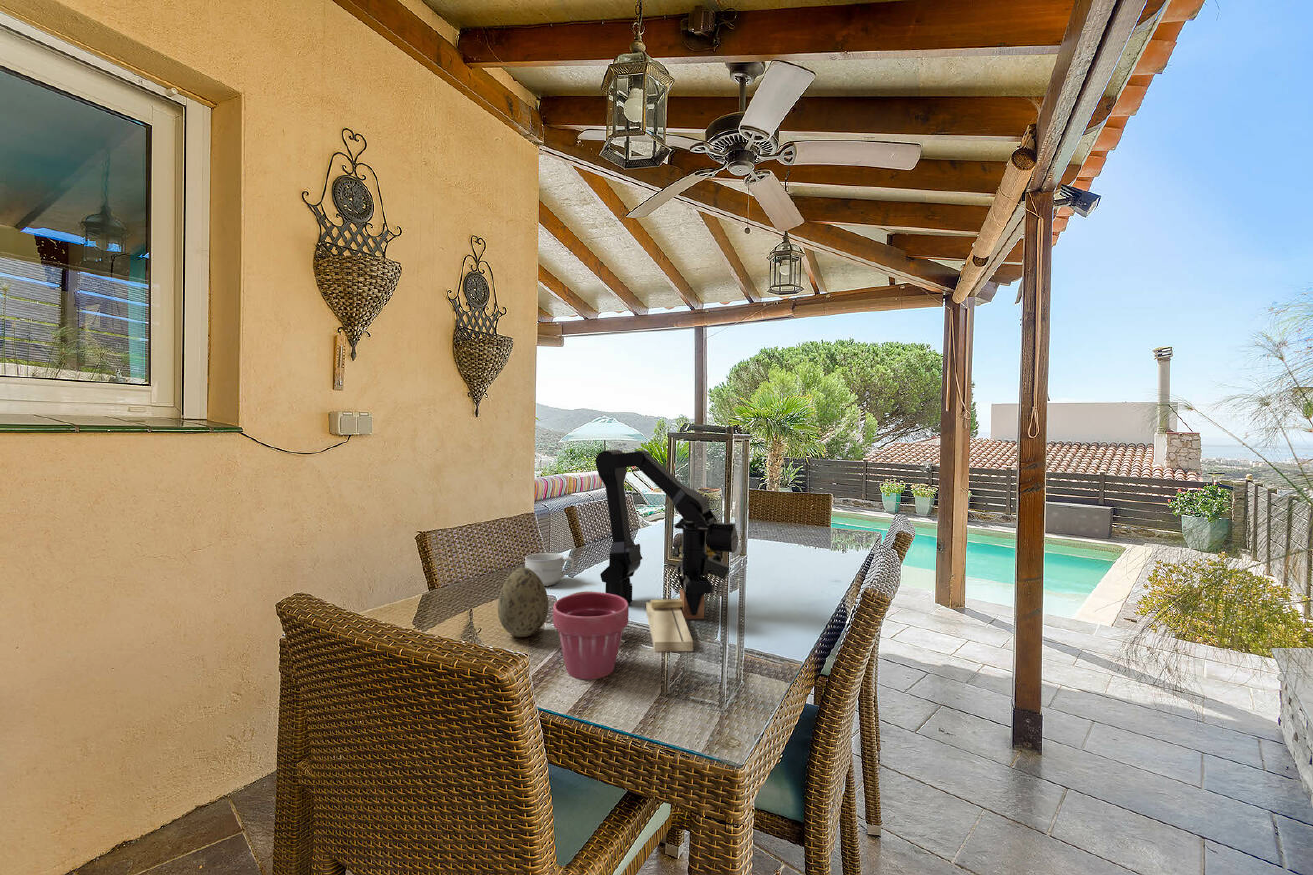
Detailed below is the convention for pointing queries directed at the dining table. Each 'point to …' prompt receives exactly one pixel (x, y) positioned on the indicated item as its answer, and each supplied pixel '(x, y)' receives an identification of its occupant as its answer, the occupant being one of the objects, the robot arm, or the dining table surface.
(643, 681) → the dining table surface
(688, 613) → the wooden mallet
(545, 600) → the decorative egg
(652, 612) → the board
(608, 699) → the dining table surface
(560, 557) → the teacup
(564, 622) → the plant pot
